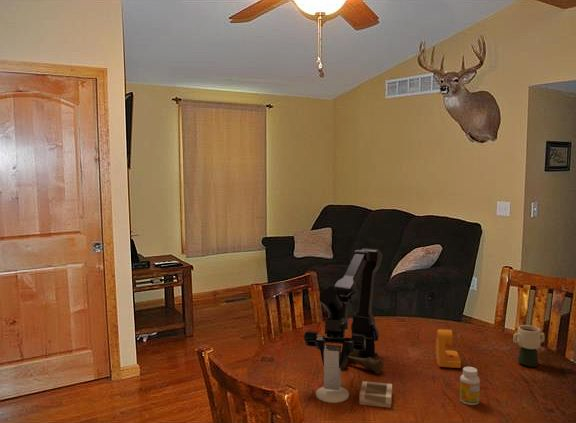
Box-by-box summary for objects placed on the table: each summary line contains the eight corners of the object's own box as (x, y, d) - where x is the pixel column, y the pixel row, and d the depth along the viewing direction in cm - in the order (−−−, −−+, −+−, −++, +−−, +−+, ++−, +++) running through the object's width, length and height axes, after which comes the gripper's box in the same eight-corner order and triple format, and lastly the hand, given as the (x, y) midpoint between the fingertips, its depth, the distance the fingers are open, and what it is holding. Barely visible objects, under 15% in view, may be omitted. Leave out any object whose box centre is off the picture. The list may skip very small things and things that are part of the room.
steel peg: (326, 382, 148) (326, 344, 147) (341, 383, 147) (340, 345, 146) (324, 388, 144) (323, 350, 142) (339, 390, 142) (338, 351, 141)
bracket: (461, 370, 162) (462, 336, 161) (439, 368, 163) (439, 334, 162) (456, 358, 173) (457, 325, 172) (435, 356, 174) (436, 324, 173)
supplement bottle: (456, 397, 143) (457, 365, 142) (473, 396, 143) (474, 365, 143) (464, 406, 138) (465, 373, 137) (482, 405, 138) (483, 372, 137)
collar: (362, 390, 148) (362, 381, 148) (392, 393, 146) (392, 384, 146) (359, 404, 139) (359, 394, 139) (390, 407, 137) (391, 397, 137)
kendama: (373, 380, 156) (322, 364, 169) (386, 371, 164) (337, 356, 176) (374, 362, 156) (323, 347, 168) (387, 354, 163) (337, 340, 176)
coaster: (309, 392, 147) (309, 390, 147) (335, 384, 152) (335, 383, 152) (329, 406, 138) (329, 404, 138) (355, 397, 144) (355, 395, 144)
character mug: (537, 360, 170) (538, 324, 168) (549, 368, 163) (550, 331, 161) (507, 360, 169) (508, 325, 168) (517, 369, 162) (519, 332, 161)
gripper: (304, 305, 149) (297, 353, 140) (364, 309, 144) (361, 358, 135) (310, 322, 157) (303, 368, 148) (367, 326, 153) (363, 373, 143)
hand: (331, 367), depth 143 cm, fingers closed on steel peg, 4 cm apart
